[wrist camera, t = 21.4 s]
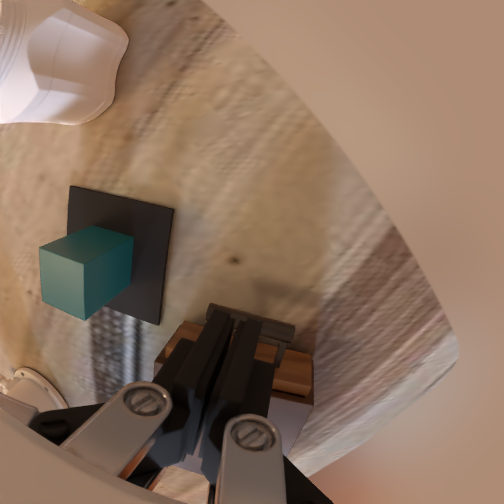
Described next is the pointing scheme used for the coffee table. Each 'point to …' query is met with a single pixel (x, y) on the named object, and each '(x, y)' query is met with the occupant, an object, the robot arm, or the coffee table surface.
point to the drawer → (263, 350)
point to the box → (85, 270)
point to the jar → (56, 61)
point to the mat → (144, 248)
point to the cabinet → (280, 413)
